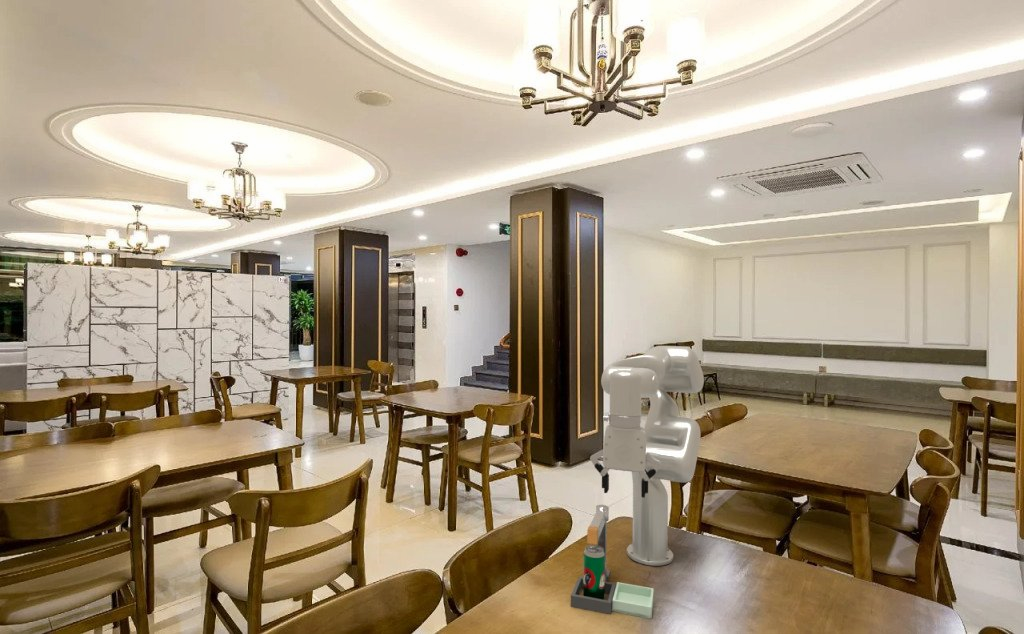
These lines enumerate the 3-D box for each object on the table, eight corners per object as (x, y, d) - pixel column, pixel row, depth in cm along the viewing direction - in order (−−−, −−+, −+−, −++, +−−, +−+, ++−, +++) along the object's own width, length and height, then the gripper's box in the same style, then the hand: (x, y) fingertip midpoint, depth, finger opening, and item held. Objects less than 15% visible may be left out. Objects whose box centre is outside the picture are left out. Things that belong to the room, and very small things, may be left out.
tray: (617, 592, 121) (617, 582, 121) (653, 599, 118) (653, 588, 118) (612, 611, 113) (612, 600, 113) (651, 618, 110) (651, 607, 110)
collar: (578, 586, 124) (578, 576, 124) (615, 593, 121) (616, 583, 121) (570, 606, 115) (570, 595, 115) (610, 614, 112) (610, 603, 112)
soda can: (604, 607, 115) (605, 554, 115) (582, 604, 116) (582, 552, 116) (605, 595, 120) (605, 545, 120) (583, 593, 121) (584, 543, 121)
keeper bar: (597, 516, 131) (597, 504, 131) (609, 518, 130) (609, 505, 130) (585, 542, 115) (585, 528, 116) (599, 544, 114) (599, 530, 114)
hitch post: (595, 571, 131) (596, 517, 132) (609, 573, 130) (610, 519, 130) (590, 588, 123) (590, 529, 123) (604, 590, 122) (605, 532, 122)
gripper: (586, 421, 121) (586, 494, 121) (661, 427, 115) (661, 503, 115) (592, 416, 128) (591, 484, 128) (663, 421, 122) (662, 493, 122)
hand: (624, 493), depth 121 cm, fingers open, 8 cm apart
